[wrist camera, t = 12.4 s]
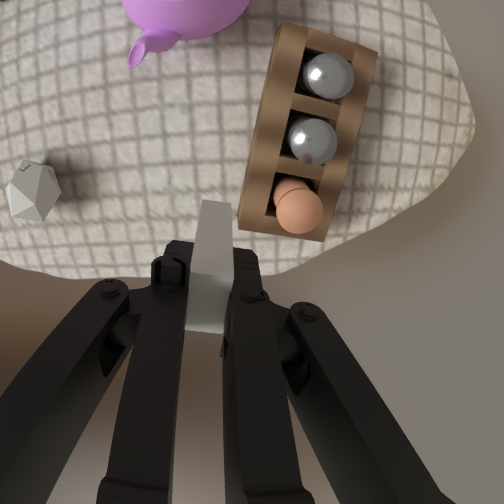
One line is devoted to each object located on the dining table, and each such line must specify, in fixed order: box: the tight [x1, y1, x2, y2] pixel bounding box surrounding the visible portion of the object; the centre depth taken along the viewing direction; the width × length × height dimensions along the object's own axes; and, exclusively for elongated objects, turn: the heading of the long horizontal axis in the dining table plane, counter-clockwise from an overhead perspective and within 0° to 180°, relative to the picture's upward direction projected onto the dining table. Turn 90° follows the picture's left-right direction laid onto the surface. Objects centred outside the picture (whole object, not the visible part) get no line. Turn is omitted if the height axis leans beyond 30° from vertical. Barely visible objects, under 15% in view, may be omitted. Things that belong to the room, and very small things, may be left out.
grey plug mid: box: [284, 115, 337, 165], centre depth 35 cm, size 5×5×7 cm
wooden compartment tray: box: [237, 22, 378, 242], centre depth 37 cm, size 27×12×5 cm, turn 169°
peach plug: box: [272, 175, 323, 234], centre depth 38 cm, size 5×5×7 cm
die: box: [6, 160, 61, 222], centre depth 36 cm, size 8×9×10 cm
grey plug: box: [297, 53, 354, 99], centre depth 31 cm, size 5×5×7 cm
